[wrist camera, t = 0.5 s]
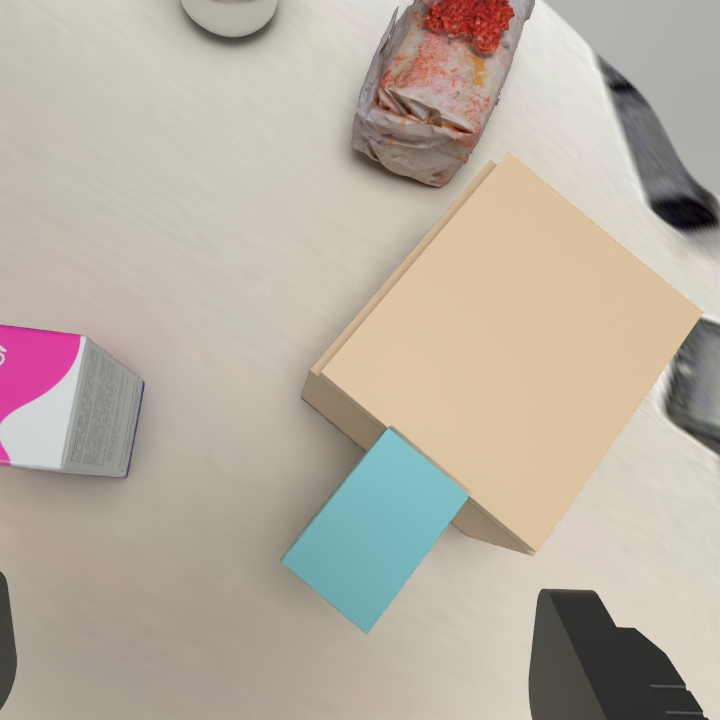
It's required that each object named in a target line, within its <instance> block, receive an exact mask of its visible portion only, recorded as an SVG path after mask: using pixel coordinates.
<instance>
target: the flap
mask: <svg viewBox="0 0 720 720" xmlns="http://www.w3.org/2000/svg"><path fill="white" fill-rule="evenodd" d="M702 314H703V312H702V311H701V310H700V309H699V308H697V307H696V306H695V305H694V304H693V303H691V302H690V301H689V300H688V299H686V298H685V297H684V296H683V295H682V294H680V293H679V292H678V291H677V290H676V289H674V288H673V287H672V286H671V285H669V284H668V283H667V282H666V281H665V280H663V279H662V278H661V277H660V276H659V275H657V274H656V273H655V272H654V271H652V270H651V269H650V268H649V267H648V266H646V265H645V264H644V263H643V262H641V261H640V260H639V259H638V258H637V257H635V256H634V255H633V254H632V253H631V252H629V251H628V250H627V249H626V248H624V247H623V246H622V245H621V244H620V243H618V242H617V241H616V240H615V239H614V238H612V237H611V236H610V235H609V234H607V233H606V232H605V231H604V230H603V229H601V228H600V227H599V226H598V225H597V224H595V223H594V222H593V221H592V220H590V219H589V218H588V217H587V216H586V215H584V214H583V213H582V212H581V211H580V210H578V209H577V208H576V207H575V206H573V205H572V204H571V203H570V202H569V201H567V200H566V199H565V198H564V197H562V196H561V195H560V194H559V193H558V192H556V191H555V190H554V189H553V188H552V187H550V186H549V185H548V184H547V183H545V182H544V181H543V180H542V179H541V178H539V177H538V176H537V175H536V174H535V173H533V172H532V171H531V170H530V169H528V168H527V167H526V166H525V165H524V164H522V163H521V162H520V161H519V160H518V159H516V158H515V157H514V156H513V155H511V154H510V153H509V152H508V153H507V154H506V155H505V157H504V158H503V159H502V160H501V161H500V162H499V164H498V165H497V166H496V167H495V168H494V169H493V171H492V172H491V173H490V174H489V175H488V176H487V178H486V179H485V180H484V181H483V182H482V183H481V185H480V186H479V187H478V188H477V189H476V191H475V192H474V193H473V194H472V195H471V196H470V198H469V199H468V200H467V201H466V202H465V203H464V205H463V206H462V207H461V208H460V209H459V210H458V212H457V213H456V214H455V215H454V216H453V217H452V219H451V220H450V221H449V222H448V223H447V225H446V226H445V227H444V228H443V229H442V230H441V232H440V233H439V234H438V235H437V236H436V237H435V239H434V240H433V241H432V242H431V243H430V244H429V246H428V247H427V248H426V249H425V250H424V251H423V253H422V254H421V255H420V256H419V257H418V258H417V260H416V261H415V262H414V263H413V264H412V266H411V267H410V268H409V269H408V270H407V271H406V273H405V274H404V275H403V276H402V277H401V278H400V280H399V281H398V282H397V283H396V284H395V285H394V287H393V288H392V289H391V290H390V291H389V292H388V294H387V295H386V296H385V297H384V298H383V300H382V301H381V302H380V303H379V304H378V305H377V307H376V308H375V309H374V310H373V311H372V312H371V314H370V315H369V316H368V317H367V318H366V319H365V321H364V322H363V323H362V324H361V325H360V326H359V328H358V329H357V330H356V331H355V332H354V333H353V335H352V336H351V337H350V338H349V339H348V341H347V342H346V343H345V344H344V345H343V346H342V348H341V349H340V350H339V351H338V352H337V353H336V355H335V356H334V357H333V358H332V359H331V360H330V362H329V363H328V364H327V365H326V366H325V367H324V369H323V370H322V371H321V373H320V375H319V377H320V378H322V379H323V380H324V381H325V382H326V383H328V384H329V385H330V386H331V387H332V388H334V389H335V390H336V391H337V392H338V393H340V394H341V395H342V396H343V397H344V398H346V399H347V400H348V401H349V402H350V403H352V404H353V405H354V406H355V407H356V408H358V409H359V410H360V411H361V412H362V413H364V414H365V415H366V416H367V417H368V418H370V419H371V420H372V421H373V422H374V423H376V424H377V425H378V426H379V427H380V428H382V429H383V431H382V432H381V434H380V435H379V436H378V437H377V439H376V440H375V441H374V442H373V444H372V445H371V446H370V447H369V449H368V450H367V451H366V452H365V454H364V455H363V456H362V457H361V459H360V460H359V461H358V462H357V464H356V465H355V466H354V467H353V469H352V470H351V471H350V472H349V474H348V475H347V476H346V477H345V479H344V480H343V481H342V482H341V484H340V485H339V486H338V487H337V489H336V490H335V491H334V492H333V494H332V495H331V496H330V497H329V499H328V500H327V501H326V502H325V504H324V505H323V506H322V507H321V509H320V510H319V511H318V512H317V514H316V515H315V516H314V517H313V519H312V520H311V521H310V522H309V524H308V525H307V526H306V527H305V529H304V530H303V531H302V532H301V534H300V535H299V536H298V537H297V539H296V540H295V541H294V542H293V544H292V545H291V546H290V547H289V549H288V550H287V551H286V552H285V554H284V555H283V556H282V557H281V563H283V564H284V565H285V566H286V567H287V568H288V569H290V570H291V571H292V572H293V573H294V574H296V575H297V576H298V577H299V578H300V579H302V580H303V581H304V582H305V583H306V584H307V585H309V586H310V587H311V588H312V589H313V590H315V591H316V592H317V593H318V594H319V595H321V596H322V597H323V598H324V599H325V600H326V601H328V602H329V603H330V604H331V605H332V606H334V607H335V608H336V609H337V610H338V611H340V612H341V613H342V614H343V615H344V616H345V617H347V618H348V619H349V620H350V621H351V622H353V623H354V624H355V625H356V626H357V627H359V628H360V629H361V630H362V631H363V632H364V633H366V634H368V632H369V631H370V630H371V628H372V627H373V625H374V624H375V623H376V621H377V620H378V619H379V617H380V616H381V615H382V613H383V612H384V611H385V609H386V608H387V607H388V605H389V604H390V602H391V601H392V600H393V598H394V597H395V596H396V594H397V593H398V592H399V590H400V589H401V588H402V586H403V585H404V584H405V582H406V581H407V579H408V578H409V577H410V575H411V574H412V573H413V571H414V570H415V569H416V567H417V566H418V565H419V563H420V562H421V561H422V559H423V558H424V556H425V555H426V554H427V552H428V551H429V550H430V548H431V547H432V546H433V544H434V543H435V542H436V540H437V539H438V538H439V536H440V535H441V533H442V532H443V531H444V529H445V528H446V527H447V525H448V524H449V523H450V521H451V520H452V519H453V517H454V516H455V515H456V513H457V512H458V510H459V509H460V508H461V506H462V505H463V504H464V502H465V501H466V500H468V501H469V502H470V503H471V504H473V505H474V506H475V507H476V508H477V509H479V510H480V511H481V512H482V513H483V514H485V515H486V516H487V517H488V518H489V519H491V520H492V521H493V522H494V523H495V524H497V525H498V526H499V527H500V528H501V529H503V530H504V531H505V532H506V533H507V534H509V535H510V536H511V537H512V538H513V539H514V540H516V541H517V542H518V543H519V544H520V545H522V546H523V547H524V548H525V549H527V550H530V551H534V552H538V551H539V549H540V548H541V547H542V545H543V544H544V542H545V541H546V539H547V538H548V536H549V535H550V534H551V532H552V531H553V529H554V528H555V526H556V525H557V523H558V522H559V520H560V519H561V518H562V516H563V515H564V513H565V512H566V510H567V509H568V507H569V506H570V505H571V503H572V502H573V500H574V499H575V497H576V496H577V494H578V493H579V492H580V490H581V489H582V487H583V486H584V484H585V483H586V481H587V480H588V479H589V477H590V476H591V474H592V473H593V471H594V470H595V468H596V467H597V465H598V464H599V463H600V461H601V460H602V458H603V457H604V455H605V454H606V452H607V451H608V450H609V448H610V447H611V445H612V444H613V442H614V441H615V439H616V438H617V437H618V435H619V434H620V432H621V431H622V429H623V428H624V426H625V425H626V424H627V422H628V421H629V419H630V418H631V416H632V415H633V413H634V412H635V411H636V409H637V408H638V406H639V405H640V403H641V402H642V400H643V399H644V397H645V396H646V395H647V393H648V392H649V390H650V389H651V387H652V386H653V384H654V383H655V382H656V380H657V379H658V377H659V376H660V374H661V373H662V371H663V370H664V369H665V367H666V366H667V364H668V363H669V361H670V360H671V358H672V357H673V356H674V354H675V353H676V351H677V350H678V348H679V347H680V345H681V344H682V342H683V341H684V340H685V338H686V337H687V335H688V334H689V332H690V331H691V329H692V328H693V327H694V325H695V324H696V322H697V321H698V319H699V318H700V316H701V315H702Z"/></svg>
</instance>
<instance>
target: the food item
mask: <svg viewBox="0 0 720 720" xmlns="http://www.w3.org/2000/svg"><path fill="white" fill-rule="evenodd" d="M534 5H535V0H414V3H413V5H411V6H408V7H407V9H406V10H405V12H404V14H403V15H402V17H401V18H400V19H399V20H398V21H397V23H396V24H395V25H394V23H395V19H396V15H397V11H398V7H399V6H398V7H397V8H396V10H395V11H394V14H393V16H392V19H391V21H390V24H389V26H388V28H387V30H386V32H385V33H384V35H383V37H382V39H381V42H380V44H379V46H378V49H377V51H376V53H375V55H374V56H373V59H372V62H371V65H370V67H369V70H368V73H367V75H366V78H365V82H364V84H363V86H362V89H361V92H360V96H359V98H360V100H359V102H358V105H357V112H358V113H357V114H356V115H355V120H354V123H353V138H352V142H351V144H352V147H353V149H354V150H357V151H361V152H364V153H366V154H367V155H368V156H369V157H370V158H371V159H373V160H375V161H378V162H380V163H381V164H382V165H384V166H385V167H386V168H387V169H388V170H390V171H392V172H394V173H397V174H399V175H404V176H409V177H411V178H414V179H416V180H418V181H420V182H423V183H425V184H429V185H433V186H436V187H439V188H441V186H442V185H444V184H446V183H447V182H448V181H449V180H450V179H451V178H452V177H453V175H454V174H455V173H456V172H457V171H458V170H459V169H460V167H461V165H462V164H463V163H466V162H467V160H468V155H469V154H470V153H472V150H473V148H474V147H475V146H476V144H477V143H478V141H479V139H480V137H481V135H482V133H483V130H484V128H485V126H486V124H487V122H488V120H489V117H490V115H491V113H492V111H493V108H494V106H495V105H497V104H498V102H499V100H500V99H497V98H498V96H499V95H500V91H501V89H502V87H503V84H504V82H505V80H506V77H507V75H508V72H509V69H510V67H511V64H512V60H513V56H514V53H515V50H516V48H517V47H518V46H517V45H518V42H519V39H520V36H521V33H522V30H523V25H524V22H525V21H526V20H528V19H529V18H530V16H531V13H532V10H533V8H534ZM389 35H390V36H391V37H390V39H389Z"/></svg>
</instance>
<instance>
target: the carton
mask: <svg viewBox="0 0 720 720" xmlns="http://www.w3.org/2000/svg"><path fill="white" fill-rule="evenodd" d="M496 166H497V165H496V164H495V163H494V162H493V161H491V160H490V161H489V162H488V163H487V164H486V166H485V167H484V168H483V169H482V170H481V171H480V173H479V174H478V175H477V176H476V177H475V178H474V180H473V181H472V182H471V183H470V184H469V185H468V187H467V188H466V189H465V190H464V191H463V192H462V194H461V195H460V196H459V197H458V198H457V199H456V201H455V202H454V203H453V204H452V205H451V206H450V207H449V209H448V210H447V211H446V212H445V213H444V214H443V216H442V217H441V218H440V219H439V220H438V221H437V223H436V224H435V225H434V226H433V227H432V228H431V230H430V231H429V232H428V233H427V234H426V235H425V237H424V238H423V239H422V240H421V241H420V242H419V244H418V245H417V246H416V247H415V248H414V249H413V251H412V252H411V253H410V254H409V255H408V256H407V258H406V259H405V260H404V261H403V262H402V263H401V265H400V266H399V267H398V268H397V269H396V270H395V272H394V273H393V274H392V275H391V276H390V277H389V278H388V280H387V281H386V282H385V283H384V284H383V285H382V287H381V288H380V289H379V290H378V291H377V292H376V294H375V295H374V296H373V297H372V298H371V299H370V301H369V302H368V303H367V304H366V305H365V306H364V308H363V309H362V310H361V311H360V312H359V313H358V315H357V316H356V317H355V318H354V319H353V320H352V322H351V323H350V324H349V325H348V326H347V327H346V329H345V330H344V331H343V332H342V333H341V334H340V336H339V337H338V338H337V339H336V340H335V341H334V342H333V344H332V345H331V346H330V347H329V348H328V349H327V351H326V352H325V353H324V354H323V355H322V356H321V358H320V359H319V360H318V361H317V362H316V363H315V365H314V366H313V367H312V368H311V369H310V371H309V375H308V378H307V381H306V384H305V387H304V390H303V393H302V396H301V398H302V399H303V400H305V401H306V402H307V403H308V404H309V405H311V406H312V407H313V408H314V409H315V410H317V411H318V412H319V413H320V414H321V415H323V416H324V417H325V418H326V419H327V420H329V421H330V422H331V423H332V424H333V425H334V426H336V427H337V428H338V429H339V430H340V431H342V432H343V433H344V434H345V435H346V436H348V437H349V438H350V439H351V440H352V441H354V442H355V443H356V444H357V445H358V446H360V447H361V448H362V449H363V450H364V451H367V450H368V449H369V447H370V446H371V445H372V444H373V442H374V441H375V440H376V439H377V437H378V436H379V435H380V434H381V432H382V431H383V429H382V428H380V427H379V426H378V425H377V424H376V423H374V422H373V421H372V420H371V419H370V418H368V417H367V416H366V415H365V414H364V413H362V412H361V411H360V410H359V409H358V408H356V407H355V406H354V405H353V404H352V403H350V402H349V401H348V400H347V399H346V398H344V397H343V396H342V395H341V394H340V393H338V392H337V391H336V390H335V389H334V388H332V387H331V386H330V385H329V384H328V383H326V382H325V381H324V380H323V379H322V378H320V377H319V375H320V373H321V371H322V370H323V369H324V367H325V366H326V365H327V364H328V363H329V362H330V360H331V359H332V358H333V357H334V356H335V355H336V353H337V352H338V351H339V350H340V349H341V348H342V346H343V345H344V344H345V343H346V342H347V341H348V339H349V338H350V337H351V336H352V335H353V333H354V332H355V331H356V330H357V329H358V328H359V326H360V325H361V324H362V323H363V322H364V321H365V319H366V318H367V317H368V316H369V315H370V314H371V312H372V311H373V310H374V309H375V308H376V307H377V305H378V304H379V303H380V302H381V301H382V300H383V298H384V297H385V296H386V295H387V294H388V292H389V291H390V290H391V289H392V288H393V287H394V285H395V284H396V283H397V282H398V281H399V280H400V278H401V277H402V276H403V275H404V274H405V273H406V271H407V270H408V269H409V268H410V267H411V266H412V264H413V263H414V262H415V261H416V260H417V258H418V257H419V256H420V255H421V254H422V253H423V251H424V250H425V249H426V248H427V247H428V246H429V244H430V243H431V242H432V241H433V240H434V239H435V237H436V236H437V235H438V234H439V233H440V232H441V230H442V229H443V228H444V227H445V226H446V225H447V223H448V222H449V221H450V220H451V219H452V217H453V216H454V215H455V214H456V213H457V212H458V210H459V209H460V208H461V207H462V206H463V205H464V203H465V202H466V201H467V200H468V199H469V198H470V196H471V195H472V194H473V193H474V192H475V191H476V189H477V188H478V187H479V186H480V185H481V183H482V182H483V181H484V180H485V179H486V178H487V176H488V175H489V174H490V173H491V172H492V171H493V169H494V168H495V167H496ZM450 522H451V523H452V524H453V525H454V526H455V527H456V528H458V529H459V530H460V531H461V532H462V533H464V534H465V535H466V536H468V537H472V538H475V539H478V540H481V541H485V542H488V543H491V544H495V545H498V546H501V547H505V548H508V549H511V550H515V551H518V552H521V553H525V554H528V555H531V556H534V554H535V553H536V552H534V551H530V550H527V549H525V548H524V547H523V546H522V545H520V544H519V543H518V542H517V541H516V540H514V539H513V538H512V537H511V536H510V535H509V534H507V533H506V532H505V531H504V530H503V529H501V528H500V527H499V526H498V525H497V524H495V523H494V522H493V521H492V520H491V519H489V518H488V517H487V516H486V515H485V514H483V513H482V512H481V511H480V510H479V509H477V508H476V507H475V506H474V505H473V504H471V503H470V502H469V501H468V500H466V501H465V502H464V504H463V505H462V506H461V508H460V509H459V510H458V512H457V513H456V515H455V516H454V517H453V519H452V520H451V521H450Z"/></svg>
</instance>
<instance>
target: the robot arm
mask: <svg viewBox="0 0 720 720" xmlns="http://www.w3.org/2000/svg"><path fill="white" fill-rule="evenodd" d="M16 667H17V655H16V647H15V640H14V632H13V624H12V616H11V608H10V601H9V593H8V585H7V581H6V578H5V576H4V575H3V573H2V572H0V710H1V708H2V707H3V705H4V704H5V702H6V700H7V698H8V696H9V694H10V691H11V689H12V686H13V682H14V679H15V674H16ZM529 701H530V709H531V715H532V720H709V719H708V718H705V717H704V716H703V710H702V709H701V707H700V706H699V704H698V702H697V701H696V699H695V698H694V696H693V695H692V693H691V692H690V691H687V690H686V684H685V683H684V681H683V680H682V678H681V676H680V675H679V673H678V672H677V670H676V669H675V667H674V666H673V664H672V663H671V661H670V660H669V658H668V657H667V655H666V654H665V653H664V652H663V651H662V650H661V649H659V648H658V647H657V646H656V645H655V644H653V643H652V642H651V641H650V640H649V639H647V638H646V637H645V636H644V635H642V634H641V633H640V632H639V631H638V630H636V629H635V628H622V627H616V625H615V623H614V622H613V620H612V618H611V617H610V615H609V613H608V611H607V610H606V608H605V606H604V604H603V603H602V601H601V599H600V598H599V596H598V594H597V593H596V592H595V591H593V590H568V589H542V590H541V591H540V593H539V595H538V600H537V607H536V616H535V625H534V634H533V643H532V652H531V661H530V670H529Z"/></svg>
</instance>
